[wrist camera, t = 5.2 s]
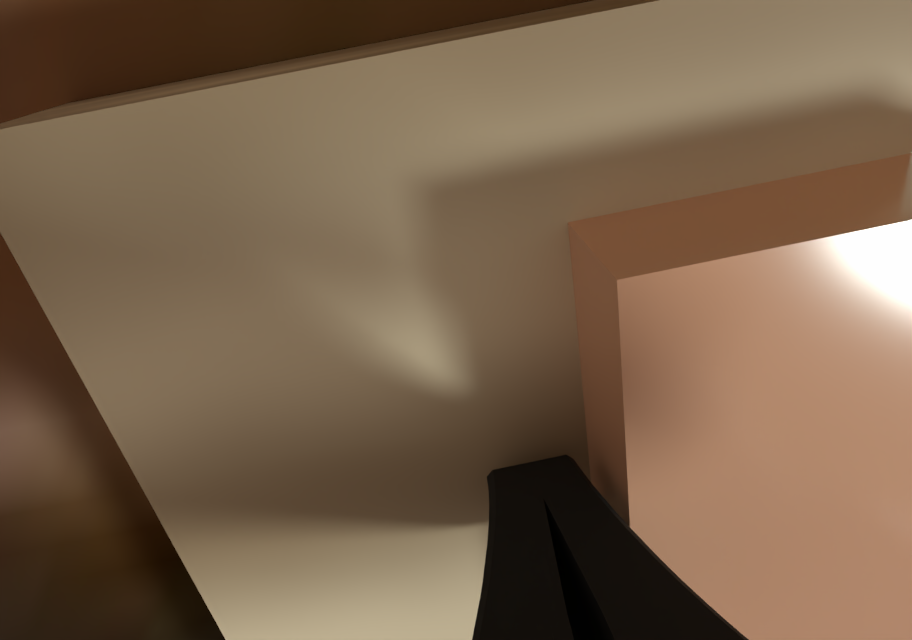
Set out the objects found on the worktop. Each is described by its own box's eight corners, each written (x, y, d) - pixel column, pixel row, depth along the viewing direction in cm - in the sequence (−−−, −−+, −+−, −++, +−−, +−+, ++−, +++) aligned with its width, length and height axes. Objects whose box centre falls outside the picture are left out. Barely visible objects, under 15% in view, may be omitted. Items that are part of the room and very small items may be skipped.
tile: (887, 574, 13) (969, 667, 11) (604, 634, 13) (641, 737, 11) (991, 136, 8) (1152, 171, 7) (567, 222, 8) (617, 279, 7)
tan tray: (749, 554, 16) (819, 659, 14) (311, 646, 16) (297, 770, 14) (797, -40, 10) (949, -57, 7) (67, 102, 10) (-53, 139, 7)
